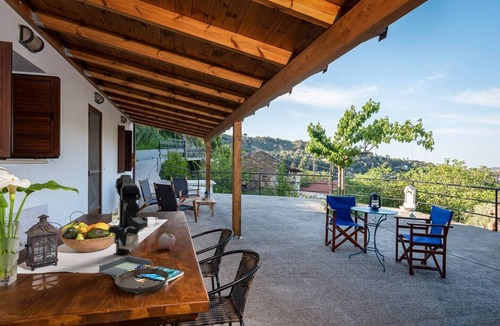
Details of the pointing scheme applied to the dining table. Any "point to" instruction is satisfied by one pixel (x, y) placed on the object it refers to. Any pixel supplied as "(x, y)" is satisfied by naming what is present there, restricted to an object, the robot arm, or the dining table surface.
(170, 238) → the decorative fruit
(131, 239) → the birch block
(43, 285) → the dining table surface
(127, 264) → the corner arena
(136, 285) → the plant saucer
